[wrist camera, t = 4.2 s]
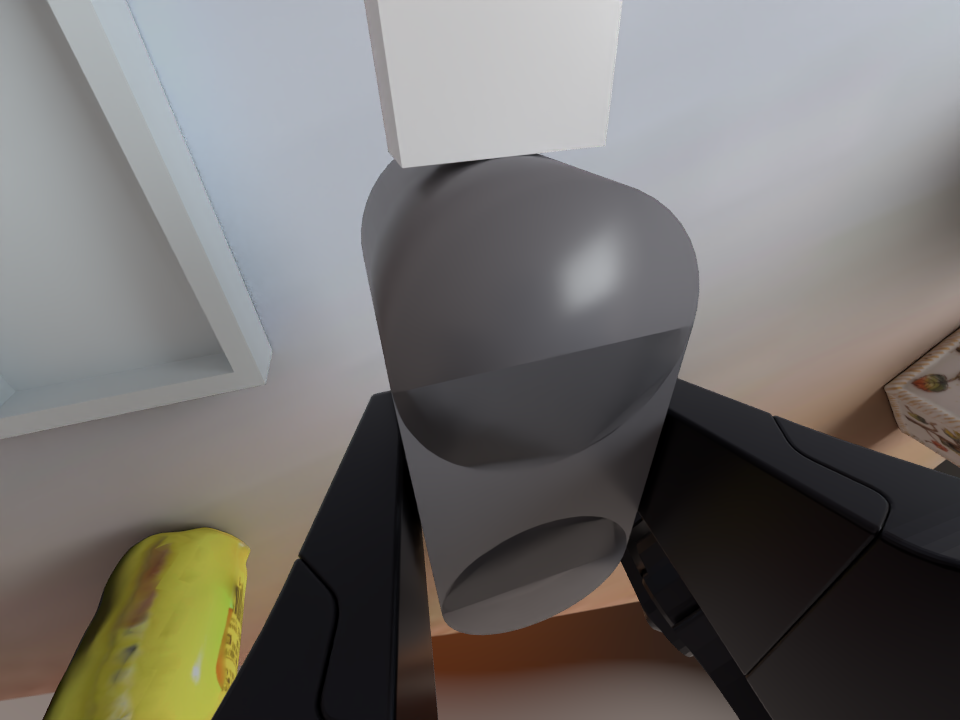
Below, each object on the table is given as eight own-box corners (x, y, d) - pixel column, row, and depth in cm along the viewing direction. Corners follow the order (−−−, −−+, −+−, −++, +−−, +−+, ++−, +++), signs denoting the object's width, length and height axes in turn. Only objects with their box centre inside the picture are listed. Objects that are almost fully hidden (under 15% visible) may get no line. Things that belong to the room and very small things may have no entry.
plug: (537, 459, 12) (611, 594, 9) (416, 493, 11) (451, 655, 8) (564, -80, 6) (877, -289, 2) (287, -87, 5) (207, -407, 2)
